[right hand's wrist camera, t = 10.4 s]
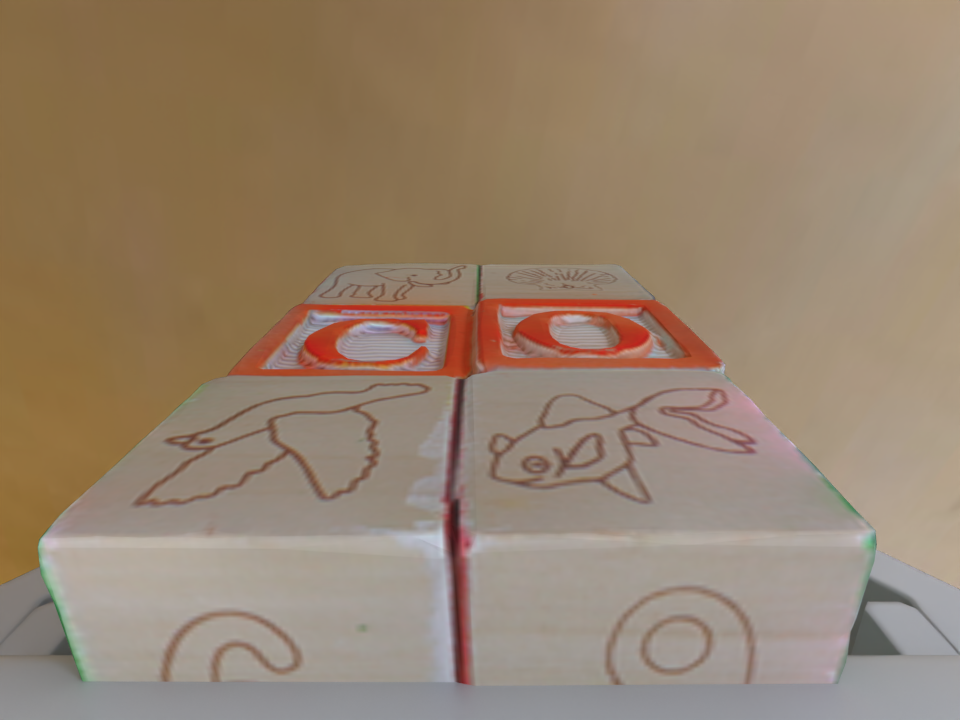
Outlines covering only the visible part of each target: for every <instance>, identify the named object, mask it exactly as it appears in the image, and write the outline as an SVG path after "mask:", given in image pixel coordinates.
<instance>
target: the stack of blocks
mask: <svg viewBox="0 0 960 720" xmlns="http://www.w3.org/2000/svg"><path fill="white" fill-rule="evenodd" d="M724 371H725V364H724V363H723V362H722V360H721V359H720V358H719V357H718V356H717V355H716V354H715V353H714V352H713V351H712V350H711V349H710V348H709V347H708V346H707V345H706V344H705V343H704V342H703V341H702V340H701V339H700V338H699V337H698V336H697V335H696V334H695V333H694V332H693V331H692V330H691V329H690V328H689V327H688V326H686V325H685V324H684V323H683V322H682V321H681V320H680V319H679V318H678V317H676V316H675V315H674V314H673V313H672V312H671V311H670V310H669V309H668V308H667V307H666V306H665V305H664V304H662V303H660V302H658V301H656V300H655V298H654V296H653V295H652V294H650V293H649V292H648V291H647V290H646V289H645V288H643V287H642V286H641V285H640V284H639V283H638V282H637V281H636V280H635V279H634V278H632V277H631V276H630V275H629V274H628V273H627V272H626V271H625V270H624V269H623V268H622V267H621V266H618V265H615V264H603V265H482V266H480V265H474V264H440V263H412V264H369V265H353V266H343V267H341V268H338V269H336V270H335V271H334V272H332V273H331V274H330V275H329V276H328V277H327V278H326V279H325V280H324V281H323V282H322V283H321V284H320V285H319V286H318V287H317V288H316V289H315V290H314V292H313V293H312V294H311V295H309V297H308V298H307V299H306V300H305V301H304V302H303V304H300V305H297V306H295V307H293V308H292V309H291V310H289V311H288V313H287V314H286V315H285V316H284V317H283V318H282V319H281V320H280V321H279V322H278V323H277V324H276V325H275V326H274V327H273V328H272V329H271V330H270V331H269V332H268V333H267V334H266V335H265V336H264V337H263V338H262V339H260V340H259V341H258V342H257V343H256V344H255V345H254V346H253V347H252V348H251V349H250V350H249V351H248V352H247V353H246V354H245V355H244V356H243V358H242V359H241V360H240V361H239V362H238V363H237V364H236V365H235V366H234V368H233V369H232V370H231V371H230V372H229V374H228V375H227V377H222V378H216V379H214V380H211V381H209V382H207V383H204V384H202V385H201V386H200V387H199V388H198V389H197V390H196V391H195V392H194V393H193V394H192V395H191V396H190V397H189V398H188V399H187V400H186V401H184V402H183V403H182V404H181V405H180V406H179V407H178V408H177V409H176V410H175V411H174V412H173V413H172V414H171V415H170V416H169V417H167V418H166V419H165V420H164V421H163V422H161V423H160V424H159V425H158V426H157V427H156V428H155V429H154V430H153V431H151V432H150V433H149V434H148V435H147V436H146V437H145V438H143V439H142V440H141V441H140V442H139V443H138V444H137V445H136V446H135V447H134V448H133V449H132V450H131V451H130V452H129V453H127V454H126V455H125V456H124V457H123V458H122V459H121V460H120V461H119V462H118V463H117V464H116V465H115V466H114V467H113V468H111V469H110V470H109V471H108V472H107V473H106V474H105V475H104V476H103V477H101V478H100V479H99V480H98V481H97V482H96V483H95V484H94V485H93V486H92V487H90V488H89V489H88V490H87V491H86V492H85V493H84V494H83V495H82V496H80V497H79V498H78V499H77V500H76V501H75V502H74V503H73V504H72V505H70V506H69V507H68V508H67V509H66V510H65V511H64V512H63V513H62V514H60V516H59V517H58V518H57V519H56V520H55V522H54V523H53V524H52V525H51V526H50V527H49V529H48V530H47V531H46V532H45V533H44V534H43V536H42V537H41V538H40V539H39V544H38V554H39V563H40V571H41V576H42V578H43V580H44V583H45V585H46V587H47V589H48V591H49V593H50V595H51V598H52V600H53V602H54V605H55V607H56V610H57V613H58V616H59V619H60V621H61V624H62V627H63V630H64V633H65V636H66V638H67V641H68V644H69V647H70V650H71V652H72V655H73V658H74V661H75V663H76V666H77V669H78V672H79V674H80V677H81V680H82V681H83V682H457V683H462V684H468V685H473V686H553V685H666V684H838V682H839V679H840V677H841V674H842V672H843V669H844V667H845V664H846V660H847V653H848V646H849V639H850V632H851V629H852V627H853V625H854V623H855V620H856V618H857V615H858V611H859V608H860V605H861V602H862V598H863V595H864V592H865V588H866V585H867V582H868V579H869V576H870V573H871V570H872V567H873V564H874V561H875V553H876V545H877V544H876V531H875V529H874V528H873V527H872V526H871V525H870V524H869V523H868V522H867V521H866V520H865V519H864V518H863V517H862V516H861V515H860V514H859V513H858V512H857V511H856V510H855V509H854V508H853V507H852V506H851V505H850V504H849V503H848V501H847V500H846V499H845V498H844V497H843V496H842V495H841V494H840V493H839V492H838V491H837V490H836V488H835V487H834V486H833V485H832V484H831V483H830V482H829V481H828V480H827V479H826V477H825V476H824V475H823V474H822V473H821V472H820V471H819V470H818V469H817V468H816V466H815V465H814V464H813V463H812V462H811V461H810V460H809V459H808V458H807V457H806V456H805V455H804V454H803V453H802V452H801V451H800V450H799V449H798V448H797V447H796V446H795V445H794V444H793V443H792V442H791V441H790V440H789V439H788V438H787V437H786V436H785V435H784V434H783V433H782V432H781V431H780V430H779V429H778V428H777V427H776V426H775V425H774V424H773V423H772V422H771V421H770V420H769V419H768V418H767V417H766V416H765V415H764V414H763V413H762V412H761V411H760V409H759V408H758V407H757V406H756V405H755V404H754V403H753V401H752V400H751V399H750V398H749V397H748V396H747V395H746V394H744V393H743V392H742V391H741V390H740V389H739V388H738V387H736V386H735V385H734V384H733V383H732V382H731V380H730V379H729V378H728V377H727V376H725V375H724Z"/></svg>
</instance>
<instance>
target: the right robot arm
mask: <svg viewBox="0 0 960 720" xmlns="http://www.w3.org/2000/svg"><path fill="white" fill-rule="evenodd" d="M0 720H960V589H958V588H956V587H954V586H951V585H949V584H947V583H945V582H943V581H941V580H939V579H937V578H935V577H933V576H931V575H929V574H926V573H924V572H922V571H920V570H918V569H916V568H914V567H912V566H910V565H908V564H906V563H903V562H901V561H899V560H897V559H895V558H893V557H891V556H889V555H887V554H885V553H883V552H880V551H878V550H876V553H875V561H874V564H873V567H872V570H871V573H870V576H869V579H868V582H867V585H866V588H865V592H864V595H863V598H862V602H861V605H860V608H859V611H858V615H857V618H856V620H855V623H854V625H853V627H852V629H851V632H850V639H849V646H848V653H847V660H846V664H845V667H844V669H843V672H842V674H841V677H840V679H839V682H838V684H666V685H553V686H473V685H468V684H462V683H457V682H83V681H82V680H81V677H80V674H79V672H78V669H77V666H76V663H75V661H74V658H73V655H72V652H71V650H70V647H69V644H68V641H67V638H66V636H65V633H64V630H63V627H62V624H61V621H60V619H59V616H58V613H57V610H56V607H55V605H54V602H53V600H52V598H51V595H50V593H49V591H48V589H47V587H46V585H45V583H44V580H43V578H42V576H41V571H40V567H38V568H36V569H34V570H32V571H30V572H27V573H25V574H23V575H21V576H19V577H17V578H15V579H13V580H11V581H8V582H6V583H4V584H2V585H0Z"/></svg>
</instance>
